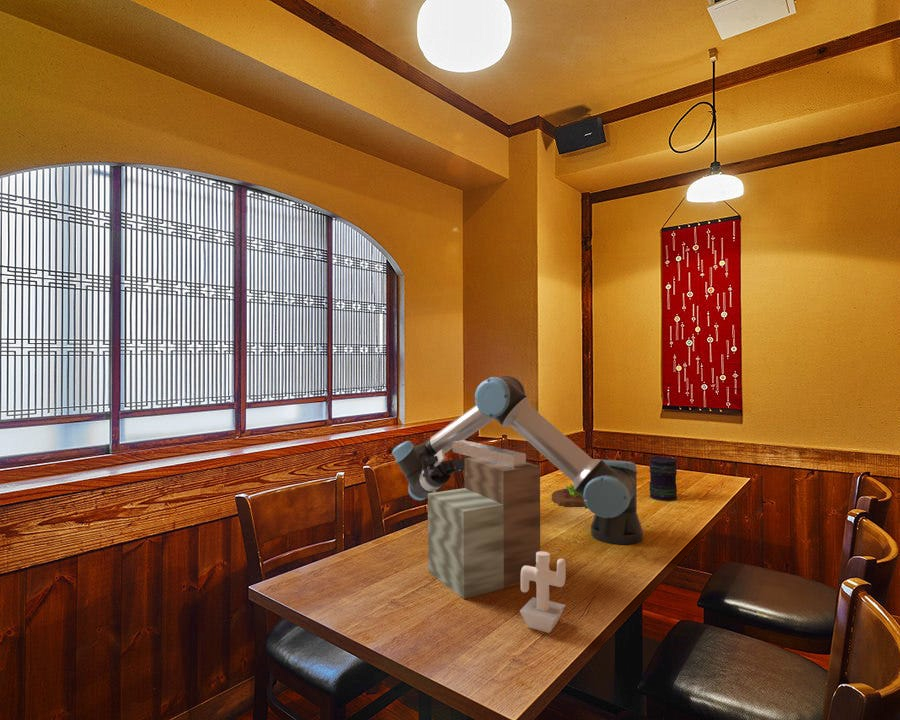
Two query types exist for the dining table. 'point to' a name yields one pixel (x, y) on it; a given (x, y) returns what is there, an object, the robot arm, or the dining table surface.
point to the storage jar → (663, 478)
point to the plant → (568, 498)
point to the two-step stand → (485, 528)
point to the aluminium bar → (490, 453)
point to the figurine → (542, 593)
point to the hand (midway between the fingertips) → (464, 451)
